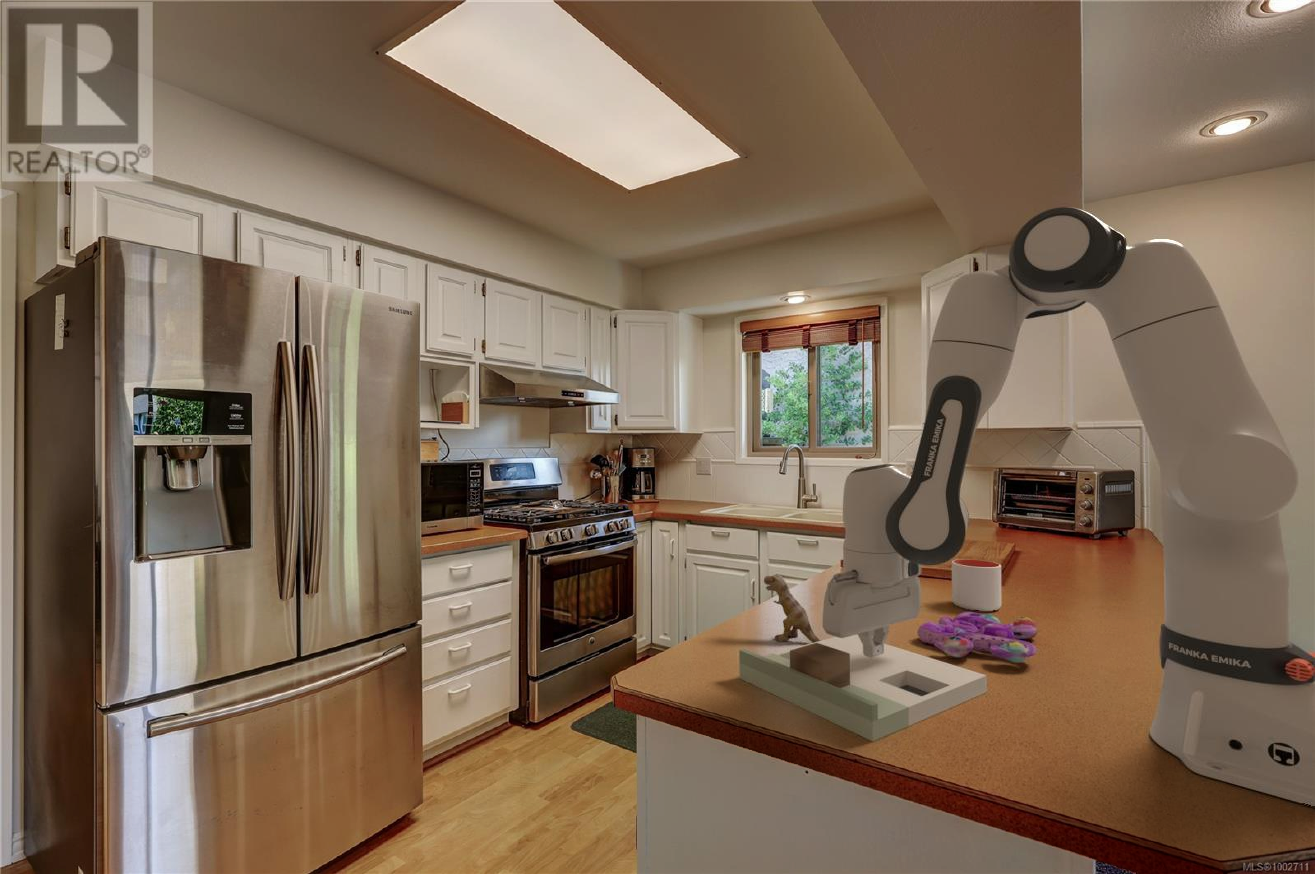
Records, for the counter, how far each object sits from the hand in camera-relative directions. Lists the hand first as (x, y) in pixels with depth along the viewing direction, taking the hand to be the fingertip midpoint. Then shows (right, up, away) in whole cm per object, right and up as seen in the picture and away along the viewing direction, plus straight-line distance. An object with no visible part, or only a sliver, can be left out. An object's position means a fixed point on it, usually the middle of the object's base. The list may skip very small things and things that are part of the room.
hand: (873, 655), depth 96 cm
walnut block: (-10, -2, -7) cm, 13 cm away
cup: (+39, -5, +43) cm, 58 cm away
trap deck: (-3, -4, -2) cm, 5 cm away
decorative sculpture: (+26, -5, +17) cm, 32 cm away
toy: (-7, -5, +20) cm, 22 cm away
